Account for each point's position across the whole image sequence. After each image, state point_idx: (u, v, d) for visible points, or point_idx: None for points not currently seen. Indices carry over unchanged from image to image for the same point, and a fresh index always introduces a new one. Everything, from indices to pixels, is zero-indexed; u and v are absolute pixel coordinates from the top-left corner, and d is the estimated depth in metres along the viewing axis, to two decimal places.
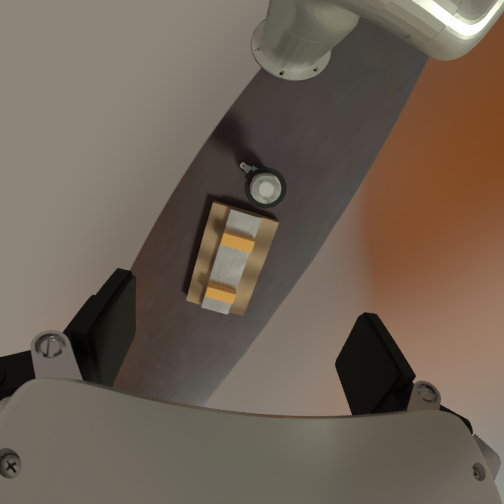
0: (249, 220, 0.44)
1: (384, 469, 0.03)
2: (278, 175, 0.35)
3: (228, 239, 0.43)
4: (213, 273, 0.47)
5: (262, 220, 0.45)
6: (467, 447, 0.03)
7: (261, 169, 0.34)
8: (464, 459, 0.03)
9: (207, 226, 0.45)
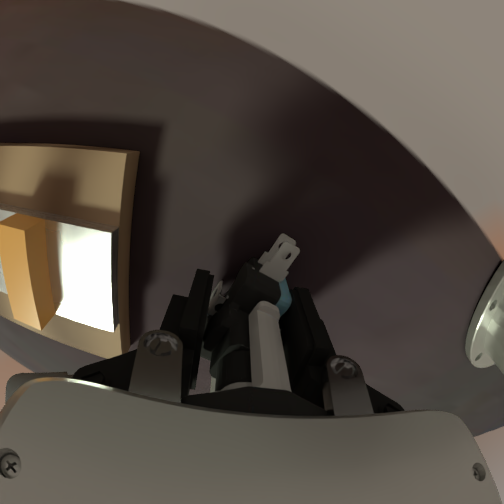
0: (96, 299, 0.11)
1: (384, 469, 0.03)
2: None
3: (14, 249, 0.08)
4: None
5: None
6: (467, 447, 0.03)
7: None
8: (464, 459, 0.03)
9: (48, 152, 0.09)
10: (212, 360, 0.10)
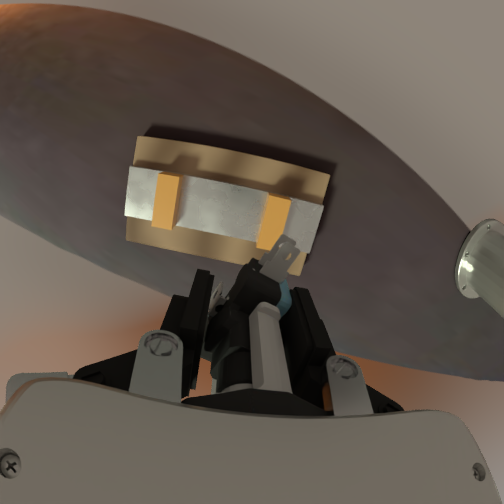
0: (306, 236, 0.27)
1: (384, 469, 0.03)
2: None
3: (279, 208, 0.24)
4: (202, 182, 0.25)
5: (302, 252, 0.29)
6: (467, 447, 0.03)
7: None
8: (464, 459, 0.03)
9: (289, 166, 0.25)
10: (213, 361, 0.10)
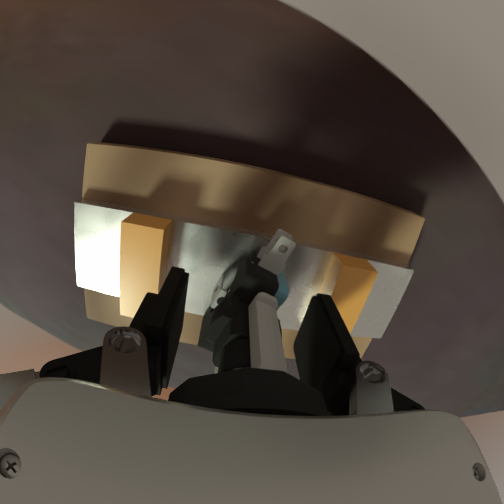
0: (382, 316, 0.15)
1: (384, 469, 0.03)
2: None
3: (356, 287, 0.13)
4: (211, 235, 0.13)
5: None
6: (467, 447, 0.03)
7: None
8: (464, 459, 0.03)
9: (368, 203, 0.14)
10: (215, 350, 0.10)
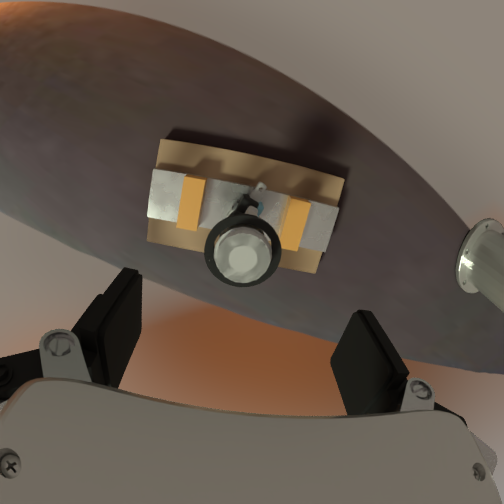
0: (323, 236, 0.29)
1: (384, 469, 0.03)
2: (269, 270, 0.20)
3: (300, 211, 0.26)
4: (226, 185, 0.26)
5: (318, 251, 0.30)
6: (467, 447, 0.03)
7: (277, 240, 0.19)
8: (464, 459, 0.03)
9: (307, 171, 0.27)
10: None
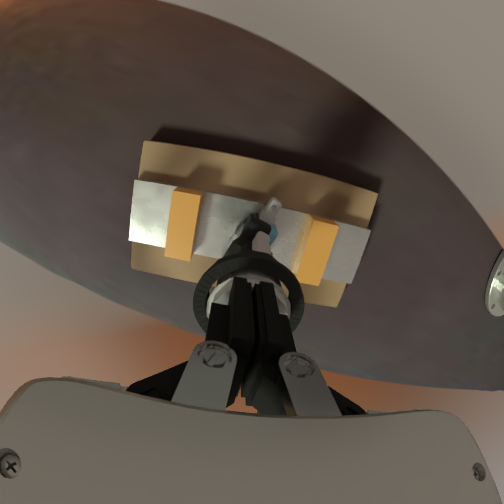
0: (349, 264, 0.22)
1: (384, 469, 0.03)
2: None
3: (324, 236, 0.20)
4: (229, 201, 0.20)
5: (342, 282, 0.24)
6: (467, 447, 0.03)
7: (298, 292, 0.13)
8: (464, 459, 0.03)
9: (333, 182, 0.21)
10: None
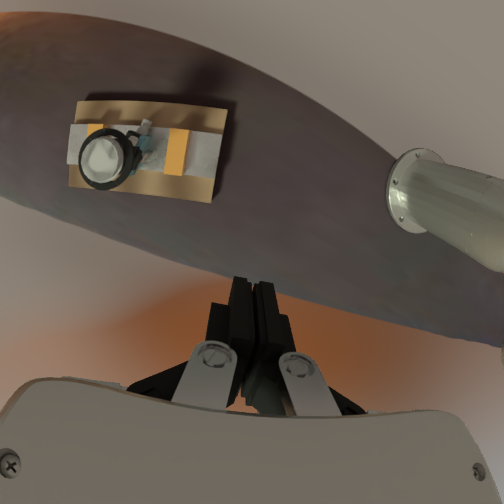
0: (210, 162, 0.29)
1: (384, 469, 0.03)
2: (125, 171, 0.20)
3: (179, 138, 0.27)
4: (122, 128, 0.27)
5: (210, 180, 0.31)
6: (467, 447, 0.03)
7: (127, 144, 0.20)
8: (464, 459, 0.03)
9: (191, 107, 0.27)
10: None
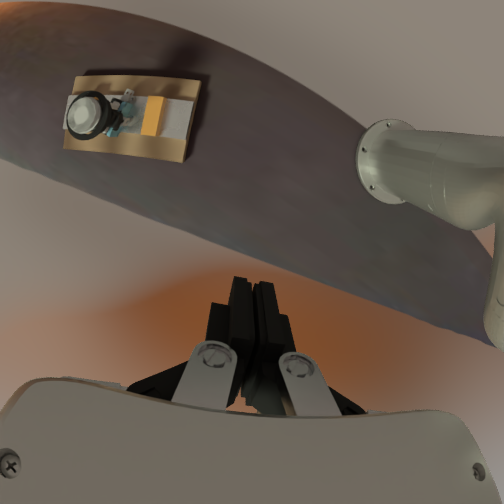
0: (181, 126, 0.31)
1: (384, 469, 0.03)
2: (101, 124, 0.22)
3: (155, 103, 0.28)
4: (110, 97, 0.29)
5: (182, 142, 0.33)
6: (467, 447, 0.03)
7: (105, 102, 0.21)
8: (464, 459, 0.03)
9: (169, 79, 0.29)
10: None
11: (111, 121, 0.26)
